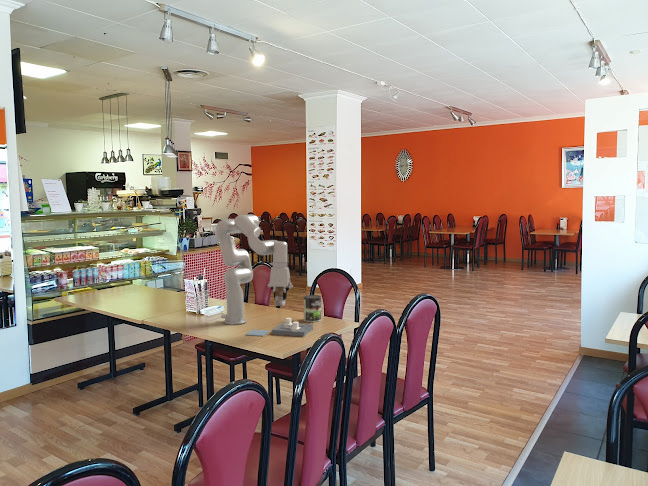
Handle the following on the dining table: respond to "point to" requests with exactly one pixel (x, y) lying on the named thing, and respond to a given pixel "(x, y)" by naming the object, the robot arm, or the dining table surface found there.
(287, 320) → the tab
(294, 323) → the tab
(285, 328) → the switch panel
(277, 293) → the brown grey cylinder
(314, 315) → the coffee can
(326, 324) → the dining table surface
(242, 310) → the robot arm
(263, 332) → the mat
